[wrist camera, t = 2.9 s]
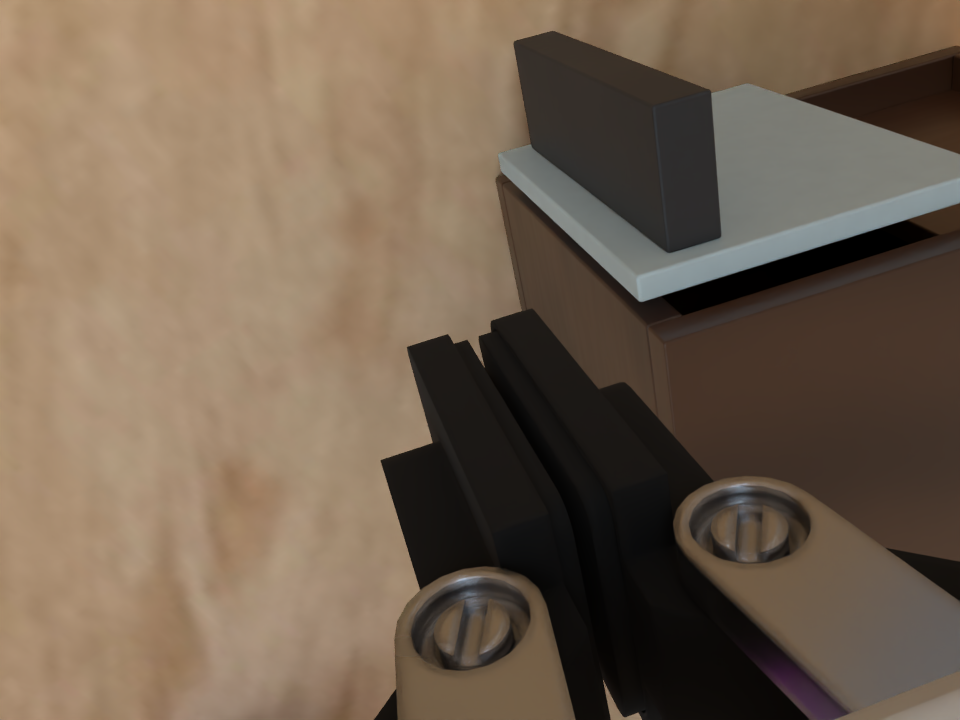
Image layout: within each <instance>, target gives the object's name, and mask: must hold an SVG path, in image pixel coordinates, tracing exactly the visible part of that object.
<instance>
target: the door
mask: <svg viewBox="0 0 960 720" xmlns="http://www.w3.org/2000/svg"><path fill="white" fill-rule="evenodd" d="M514 49H515V55H516V60H517V66H518V72H519V77H520V83H521V89H522V94H523V100H524V106H525V111H526V117H527V123H528V128H529V134H530V140H531V144H529V145H526V146H522V147H519V148H515V149H511V150H508V151H504V152H501V153H499V154H498V158H499V163H500V168H501V171H502V173H503V174H504V175H506V176H507V177H508V178H509V179H510V180H511V181H512V182H513V183H514V184H515V185H516V186H517V187H518V188H519V189H520V190H521V191H523V192H524V193H525V194H526V195H527V196H528V197H529V198H530V199H531V200H532V201H533V202H534V203H535V204H536V205H537V206H538V207H540V208H541V209H542V210H543V211H544V212H545V213H546V214H547V215H548V216H549V217H550V218H551V219H552V220H553V221H554V222H555V223H556V224H558V225H559V226H560V227H561V228H562V229H563V230H564V231H565V232H566V233H567V234H568V235H569V236H570V237H571V238H572V239H573V240H575V241H576V242H577V243H578V244H579V245H580V246H581V247H582V248H583V249H584V250H585V251H586V252H587V253H588V254H589V255H590V256H592V257H593V258H594V259H595V260H596V261H597V262H598V263H599V264H600V265H601V266H602V267H603V268H604V269H605V270H606V271H607V272H609V273H610V274H611V275H612V276H613V277H614V278H615V279H616V280H617V281H618V282H619V283H620V284H621V285H622V286H623V287H624V288H626V289H627V290H628V291H629V292H630V293H631V294H632V295H633V296H634V297H635V298H636V299H637V300H638V301H639V302H644V301H647V300H650V299H653V298H656V297H660V296H663V295H666V294H669V293H673V292H676V291H679V290H682V289H685V288H689V287H692V286H695V285H698V284H702V283H705V282H708V281H711V280H714V279H718V278H721V277H724V276H727V275H731V274H734V273H737V272H740V271H743V270H747V269H750V268H753V267H756V266H760V265H763V264H766V263H769V262H772V261H776V260H779V259H782V258H785V257H788V256H792V255H795V254H798V253H801V252H805V251H808V250H811V249H814V248H817V247H821V246H824V245H827V244H830V243H834V242H837V241H840V240H843V239H846V238H850V237H853V236H856V235H859V234H863V233H866V232H869V231H872V230H875V229H879V228H882V227H885V226H888V225H892V224H895V223H898V222H901V221H904V220H908V219H911V218H914V217H917V216H920V215H924V214H927V213H930V212H933V211H937V210H940V209H943V208H946V207H949V206H953V205H956V204H959V203H960V154H957V153H954V152H951V151H948V150H945V149H942V148H939V147H936V146H933V145H930V144H927V143H924V142H921V141H918V140H916V139H913V138H910V137H907V136H904V135H901V134H898V133H895V132H892V131H889V130H886V129H883V128H880V127H877V126H874V125H871V124H868V123H865V122H862V121H859V120H856V119H853V118H850V117H847V116H844V115H841V114H838V113H835V112H833V111H830V110H827V109H824V108H821V107H818V106H815V105H812V104H809V103H806V102H803V101H800V100H797V99H794V98H791V97H788V96H785V95H782V94H779V93H776V92H773V91H770V90H767V89H764V88H761V87H758V86H755V85H752V84H750V83H746V84H742V85H739V86H735V87H732V88H728V89H725V90H721V91H717V92H714V93H711V91H710V90H709V89H706V88H703V87H701V86H698V85H695V84H693V83H690V82H687V81H685V80H682V79H679V78H677V77H674V76H671V75H669V74H666V73H664V72H661V71H658V70H656V69H653V68H650V67H648V66H645V65H642V64H640V63H637V62H634V61H632V60H629V59H626V58H624V57H621V56H618V55H616V54H613V53H611V52H608V51H605V50H603V49H600V48H597V47H595V46H592V45H589V44H587V43H584V42H581V41H579V40H576V39H573V38H571V37H568V36H566V35H563V34H560V33H558V32H555V31H551V32H547V33H543V34H539V35H535V36H532V37H528V38H524V39H520V40H517V41H515V42H514Z"/></svg>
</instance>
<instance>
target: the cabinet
mask: <svg viewBox="0 0 960 720" xmlns="http://www.w3.org/2000/svg"><path fill="white" fill-rule="evenodd" d="M785 96H788V97H791V98H794V99H797V100H800V101H803V102H806V103H809V104H812V105H815V106H818V107H821V108H824V109H827V110H830V111H833V112H835V113H838V114H841V115H844V116H847V117H850V118H853V119H856V120H859V121H862V122H865V123H868V124H871V125H874V126H877V127H880V128H883V129H886V130H889V131H892V132H895V133H898V134H901V135H904V136H907V137H910V138H913V139H916V140H918V141H921V142H924V143H927V144H930V145H933V146H936V147H939V148H942V149H945V150H948V151H951V152H954V153H957V154H960V47H959V46H954V47H951V48H947V49H944V50H940V51H937V52H933V53H930V54H926V55H923V56H919V57H916V58H912V59H909V60H905V61H902V62H898V63H894V64H891V65H887V66H884V67H880V68H877V69H873V70H870V71H866V72H863V73H859V74H856V75H852V76H849V77H845V78H842V79H838V80H835V81H831V82H828V83H824V84H821V85H817V86H814V87H810V88H807V89H803V90H800V91H796V92H793V93H789V94H786V95H785ZM496 184H497V189H498V194H499V199H500V204H501V209H502V214H503V219H504V224H505V229H506V234H507V239H508V244H509V249H510V254H511V259H512V264H513V269H514V274H515V279H516V284H517V289H518V294H519V299H520V304H521V309H522V311H525V310H528V309H531V308H532V309H533V310H535V312H536V313H537V314H538V315H539V316H540V318H541V319H542V320H543V321H544V323H545V324H546V325H547V326H548V328H549V329H550V330H551V331H552V332H553V334H554V335H555V336H556V337H557V339H558V340H559V341H560V342H561V343H562V345H563V346H564V347H565V348H566V350H567V351H568V352H569V353H570V355H571V356H572V357H573V358H574V359H575V361H576V362H577V363H578V364H579V366H580V367H581V368H582V369H583V370H584V372H585V373H586V374H587V375H588V377H589V378H590V379H591V380H592V382H593V383H594V384H595V385H596V386H597V388H598V389H600V388H604V387H607V386H610V385H613V384H616V383H619V382H625V383H626V384H627V385H629V386H630V387H631V388H632V389H633V390H634V391H635V393H636V394H637V395H638V396H639V397H640V398H641V399H642V400H643V402H644V403H645V404H646V405H647V406H648V407H649V408H650V410H651V411H652V412H653V413H654V414H655V415H656V416H657V417H658V419H659V420H660V421H661V422H662V423H663V424H664V425H665V426H666V428H667V429H668V430H669V431H670V432H671V433H672V434H673V435H674V437H675V438H676V439H677V440H678V441H679V442H680V443H681V445H682V446H683V447H684V448H685V449H686V450H687V451H688V452H689V454H690V455H691V456H692V457H693V458H694V459H695V460H696V461H697V463H698V464H699V465H700V466H701V467H702V468H703V469H704V470H705V472H706V473H707V474H708V475H709V476H710V477H711V478H712V480H713V481H714V482H715V481H718V480H721V479H725V478H733V477H741V476H756V477H769V478H773V479H777V480H780V481H784V482H788V483H791V484H793V485H795V486H797V487H798V488H800V489H802V490H804V491H806V492H808V493H809V494H811V495H812V496H814V497H815V498H816V499H818V500H819V501H821V502H822V503H823V504H825V505H826V506H828V507H829V508H830V509H832V510H833V511H834V512H836V513H837V514H839V515H840V516H841V517H843V518H844V519H846V520H847V521H848V522H850V523H851V524H853V525H854V526H855V527H857V528H858V529H860V530H861V531H862V532H864V533H865V534H867V535H868V536H869V537H871V538H872V539H874V540H875V541H876V542H878V543H879V544H880V545H882V546H883V547H885V548H889V549H895V550H900V551H906V552H911V553H916V554H922V555H927V556H933V557H938V558H943V559H949V560H954V561H960V203H959V204H956V205H953V206H949V207H946V208H943V209H940V210H937V211H933V212H930V213H927V214H924V215H920V216H917V217H914V218H911V219H908V220H904V221H901V222H898V223H895V224H892V225H888V226H885V227H882V228H879V229H875V230H872V231H869V232H866V233H863V234H859V235H856V236H853V237H850V238H846V239H843V240H840V241H837V242H834V243H830V244H827V245H824V246H821V247H817V248H814V249H811V250H808V251H805V252H801V253H798V254H795V255H792V256H788V257H785V258H782V259H779V260H776V261H772V262H769V263H766V264H763V265H760V266H756V267H753V268H750V269H747V270H743V271H740V272H737V273H734V274H731V275H727V276H724V277H721V278H718V279H714V280H711V281H708V282H705V283H702V284H698V285H695V286H692V287H689V288H685V289H682V290H679V291H676V292H673V293H669V294H666V295H663V296H660V297H656V298H653V299H650V300H647V301H644V302H639V301H638V300H637V299H636V298H635V297H634V296H633V295H632V294H631V293H630V292H629V291H628V290H627V289H626V288H624V287H623V286H622V285H621V284H620V283H619V282H618V281H617V280H616V279H615V278H614V277H613V276H612V275H611V274H610V273H609V272H607V271H606V270H605V269H604V268H603V267H602V266H601V265H600V264H599V263H598V262H597V261H596V260H595V259H594V258H593V257H592V256H590V255H589V254H588V253H587V252H586V251H585V250H584V249H583V248H582V247H581V246H580V245H579V244H578V243H577V242H576V241H575V240H573V239H572V238H571V237H570V236H569V235H568V234H567V233H566V232H565V231H564V230H563V229H562V228H561V227H560V226H559V225H558V224H556V223H555V222H554V221H553V220H552V219H551V218H550V217H549V216H548V215H547V214H546V213H545V212H544V211H543V210H542V209H541V208H540V207H538V206H537V205H536V204H535V203H534V202H533V201H532V200H531V199H530V198H529V197H528V196H527V195H526V194H525V193H524V192H523V191H521V190H520V189H519V188H518V187H517V186H516V185H515V184H514V183H513V182H512V181H511V180H510V179H509V178H508V177H507V176H506V175H501V176H498V177H496Z"/></svg>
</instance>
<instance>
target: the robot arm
mask: <svg viewBox="0 0 960 720" xmlns="http://www.w3.org/2000/svg"><path fill="white" fill-rule="evenodd" d="M479 344H480V349H481V353H482V358H483V362H484V366H485V368H484V367H483V365H482V363H481V362H480V360H479V358H478V357H477V355H476V353H475V352H474V350H473V348H472V347H471V345H470V343H469V342H468V340H465V341H462V342H459V343H455V344H454V343H453V342H452V340H451V338H450V336H449V335H448V334H447V335H444V336H441V337H437V338H434V339H431V340H428V341H425V342H421V343H418V344H415V345H412V346H408V347H407V350H408V355H409V359H410V362H411V366H412V370H413V373H414V377H415V380H416V384H417V387H418V391H419V395H420V398H421V402H422V405H423V409H424V412H425V416H426V420H427V423H428V427H429V430H430V434H431V437H432V441H433V443H432V444H429V445H426V446H423V447H419V448H416V449H413V450H410V451H407V452H404V453H401V454H398V455H395V456H392V457H389V458H386V459H383V460H381V463H382V467H383V470H384V473H385V476H386V480H387V483H388V486H389V490H390V493H391V496H392V499H393V503H394V506H395V509H396V512H397V516H398V519H399V522H400V525H401V529H402V532H403V535H404V538H405V542H406V545H407V548H408V552H409V555H410V558H411V561H412V565H413V568H414V571H415V574H416V578H417V581H418V584H419V587H420V591H419V592H418V593H417V594H416V595H415V596H414V597H413V598H412V599H411V600H410V601H409V602H408V603H407V605H406V607H405V608H404V610H403V612H402V614H401V616H400V617H399V619H398V621H397V627H396V633H395V639H394V641H395V666H396V690H395V691H394V693H393V694H392V695H391V697H390V698H389V700H388V701H387V702H386V704H385V705H384V707H383V708H382V709H381V711H380V712H379V714H378V715H377V716H376V718H375V719H374V720H610V714H609V709H608V704H607V699H606V694H605V689H604V684H603V680H604V682H605V684H606V686H607V688H608V690H609V692H610V694H611V696H612V698H613V700H614V702H615V704H616V706H617V707H618V709H619V711H620V713H621V714H622V716H623V717H627V716H630V715H632V714H635V713H638V712H639V714H640V716H641V718H642V720H960V561H954V560H949V559H943V558H938V557H933V556H927V555H922V554H916V553H911V552H906V551H900V550H895V549H889V548H885V547H883V546H882V545H880V544H879V543H878V542H876V541H875V540H874V539H872V538H871V537H869V536H868V535H867V534H865V533H864V532H862V531H861V530H860V529H858V528H857V527H855V526H854V525H853V524H851V523H850V522H848V521H847V520H846V519H844V518H843V517H841V516H840V515H839V514H837V513H836V512H834V511H833V510H832V509H830V508H829V507H828V506H826V505H825V504H823V503H822V502H821V501H819V500H818V499H816V498H815V497H814V496H812V495H811V494H809V493H808V492H806V491H804V490H802V489H800V488H798V487H797V486H795V485H793V484H791V483H788V482H784V481H780V480H777V479H773V478H769V477H756V476H741V477H733V478H725V479H721V480H718V481H715V482H714V481H713V480H712V478H711V477H710V476H709V475H708V474H707V473H706V472H705V470H704V469H703V468H702V467H701V466H700V465H699V464H698V463H697V461H696V460H695V459H694V458H693V457H692V456H691V455H690V454H689V452H688V451H687V450H686V449H685V448H684V447H683V446H682V445H681V443H680V442H679V441H678V440H677V439H676V438H675V437H674V435H673V434H672V433H671V432H670V431H669V430H668V429H667V428H666V426H665V425H664V424H663V423H662V422H661V421H660V420H659V419H658V417H657V416H656V415H655V414H654V413H653V412H652V411H651V410H650V408H649V407H648V406H647V405H646V404H645V403H644V402H643V400H642V399H641V398H640V397H639V396H638V395H637V394H636V393H635V391H634V390H633V389H632V388H631V387H630V386H629V385H627V384H626V383H625V382H619V383H616V384H613V385H610V386H607V387H604V388H600V389H598V388H597V386H596V385H595V384H594V383H593V382H592V380H591V379H590V378H589V377H588V375H587V374H586V373H585V372H584V370H583V369H582V368H581V367H580V366H579V364H578V363H577V362H576V361H575V359H574V358H573V357H572V356H571V355H570V353H569V352H568V351H567V350H566V348H565V347H564V346H563V345H562V343H561V342H560V341H559V340H558V339H557V337H556V336H555V335H554V334H553V332H552V331H551V330H550V329H549V328H548V326H547V325H546V324H545V323H544V321H543V320H542V319H541V318H540V316H539V315H538V314H537V313H536V312H535V310H533V309H532V308H531V309H528V310H525V311H521V312H518V313H515V314H512V315H509V316H505V317H502V318H499V319H496V320H492V321H491V333H488V334H484V335H481V336H479Z"/></svg>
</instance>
